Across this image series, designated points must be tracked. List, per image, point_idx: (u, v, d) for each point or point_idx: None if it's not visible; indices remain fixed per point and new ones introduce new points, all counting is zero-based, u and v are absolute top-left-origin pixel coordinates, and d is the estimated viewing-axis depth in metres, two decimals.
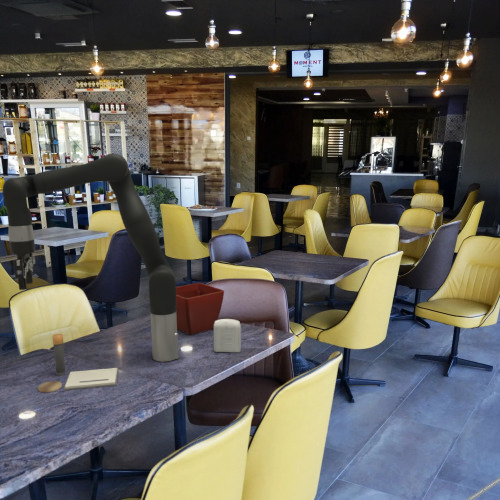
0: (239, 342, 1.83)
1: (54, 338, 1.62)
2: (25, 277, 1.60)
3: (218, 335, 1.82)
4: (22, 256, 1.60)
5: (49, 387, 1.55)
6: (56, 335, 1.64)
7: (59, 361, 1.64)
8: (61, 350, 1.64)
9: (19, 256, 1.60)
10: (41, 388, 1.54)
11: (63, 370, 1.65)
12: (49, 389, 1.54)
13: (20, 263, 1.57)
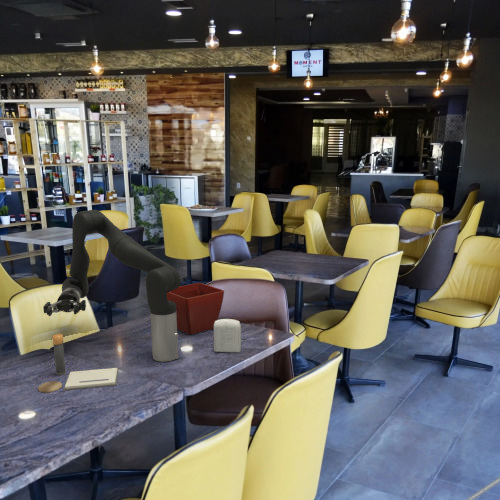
0: (239, 342, 1.83)
1: (54, 338, 1.62)
2: (50, 306, 1.76)
3: (218, 335, 1.82)
4: None
5: (49, 387, 1.55)
6: (56, 335, 1.64)
7: (59, 361, 1.64)
8: (61, 350, 1.64)
9: None
10: (41, 388, 1.54)
11: (63, 370, 1.65)
12: (49, 389, 1.54)
13: None
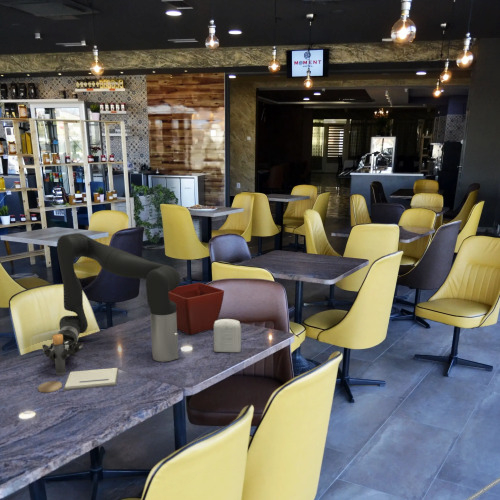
0: (239, 342, 1.83)
1: (54, 338, 1.62)
2: (53, 350, 1.65)
3: (218, 335, 1.82)
4: None
5: (49, 387, 1.55)
6: (56, 335, 1.64)
7: (59, 361, 1.64)
8: (61, 350, 1.64)
9: None
10: (41, 388, 1.54)
11: (63, 370, 1.65)
12: (49, 389, 1.54)
13: None
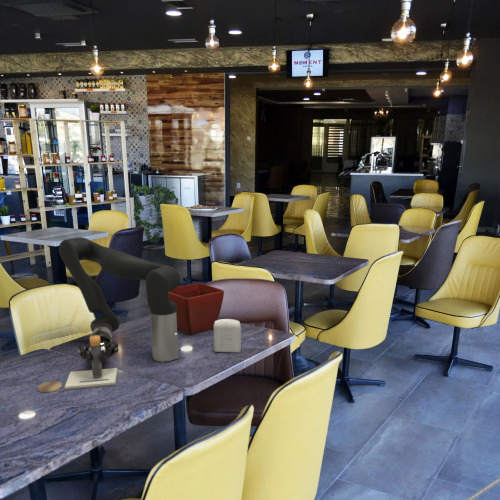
0: (239, 342, 1.83)
1: (91, 340, 1.57)
2: (90, 351, 1.60)
3: (218, 335, 1.82)
4: None
5: (49, 387, 1.55)
6: (93, 336, 1.59)
7: (96, 363, 1.59)
8: (98, 352, 1.59)
9: None
10: (41, 388, 1.54)
11: (100, 372, 1.60)
12: (49, 389, 1.54)
13: (78, 349, 1.64)
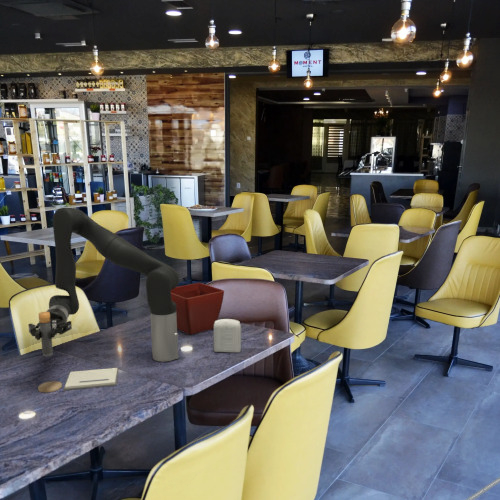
0: (239, 342, 1.83)
1: (40, 316, 1.51)
2: (39, 328, 1.54)
3: (218, 335, 1.82)
4: None
5: (49, 387, 1.55)
6: (42, 313, 1.52)
7: (46, 341, 1.52)
8: (48, 329, 1.52)
9: None
10: (41, 388, 1.54)
11: (50, 351, 1.54)
12: (49, 389, 1.54)
13: None
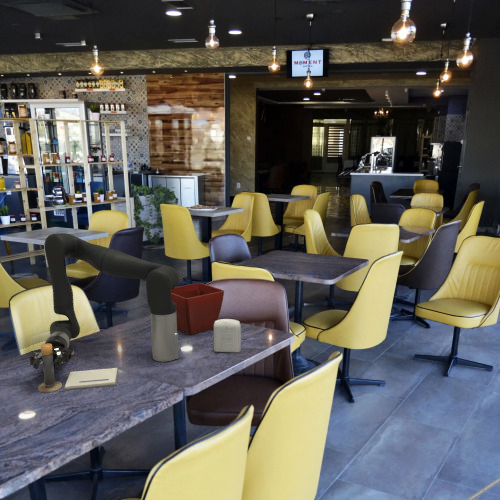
0: (239, 342, 1.83)
1: (42, 348, 1.52)
2: (37, 357, 1.55)
3: (218, 335, 1.82)
4: None
5: None
6: (45, 345, 1.54)
7: (48, 373, 1.54)
8: (50, 361, 1.54)
9: None
10: (41, 388, 1.54)
11: (52, 382, 1.55)
12: (49, 389, 1.54)
13: (30, 354, 1.59)
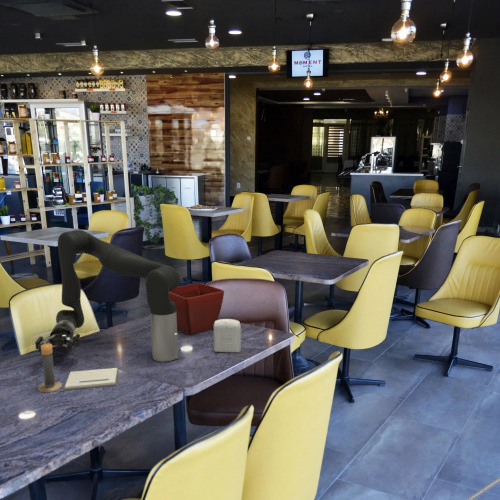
0: (239, 342, 1.83)
1: (42, 348, 1.52)
2: (42, 342, 1.68)
3: (218, 335, 1.82)
4: None
5: None
6: (45, 345, 1.54)
7: (48, 373, 1.54)
8: (50, 361, 1.54)
9: None
10: (41, 388, 1.54)
11: (52, 382, 1.55)
12: (49, 389, 1.54)
13: None
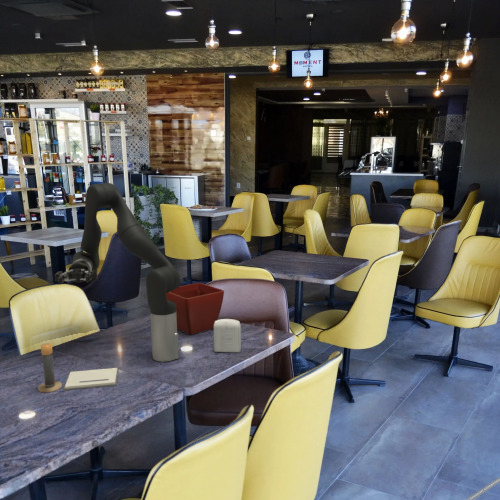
0: (239, 342, 1.83)
1: (42, 348, 1.52)
2: (61, 274, 1.73)
3: (218, 335, 1.82)
4: None
5: None
6: (45, 345, 1.54)
7: (48, 373, 1.54)
8: (50, 361, 1.54)
9: None
10: (41, 388, 1.54)
11: (52, 382, 1.55)
12: (49, 389, 1.54)
13: None
